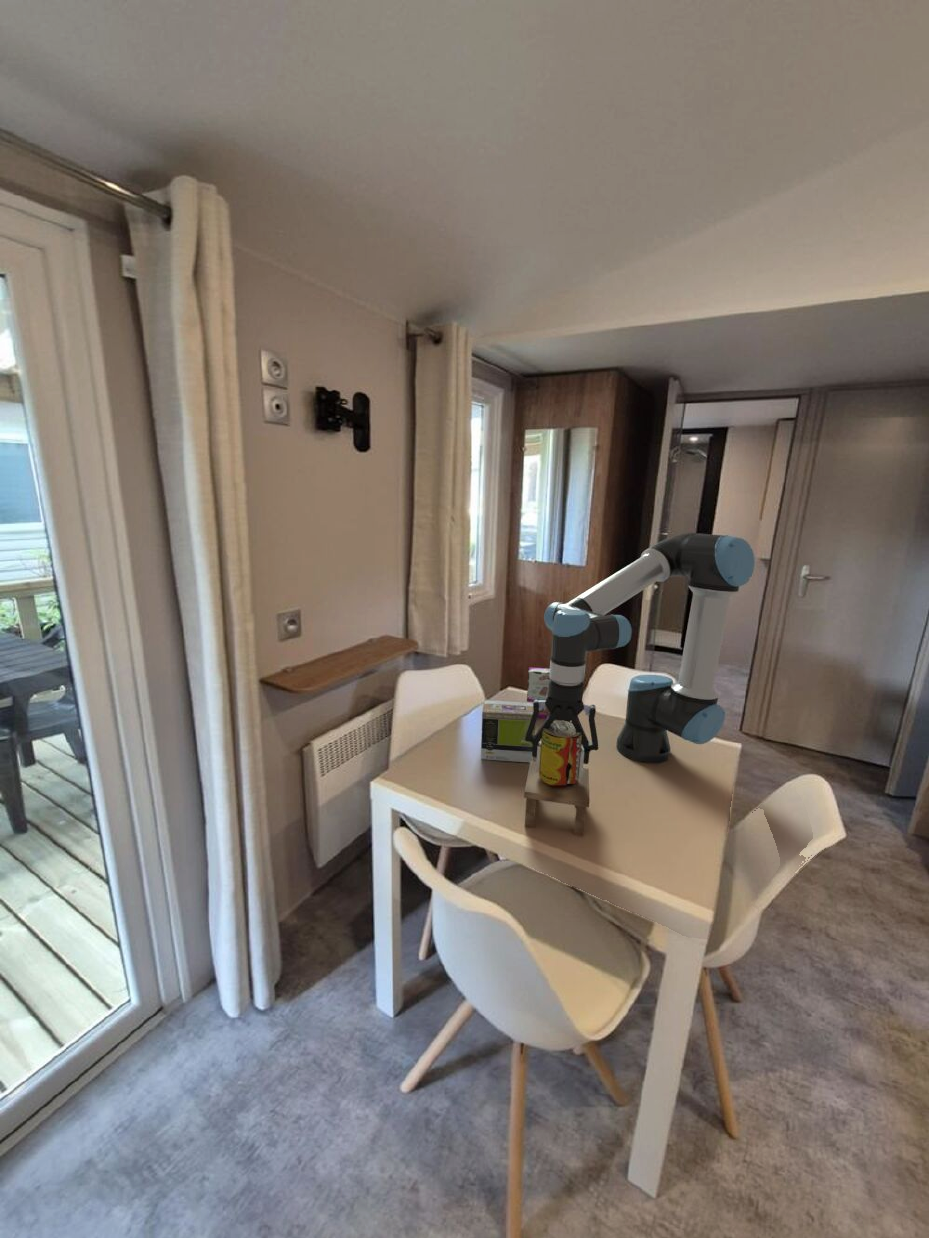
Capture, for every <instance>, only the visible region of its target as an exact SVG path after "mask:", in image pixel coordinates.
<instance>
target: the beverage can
mask: <svg viewBox="0 0 929 1238" xmlns="http://www.w3.org/2000/svg"><path fill="white" fill-rule="evenodd" d="M581 739H582V733H579V732H576V730H575V727H574V726H573V724H572V721H570V722H569V721H565V720H556V719H555V720H554V721H553V723H552V724H551V725H550V727H549V728H548V729H546V728H543V732H542V739H541V740H540V741H541V754H540V767H539V777H540V778H541V780H542V781H544V782H545V783H547V784H549V785H553V786H557V787H569V786H572V785H575V784H576V783H577V782H578V777H579V766H580V755H581V746H582V743H581ZM582 747H583V746H582Z"/></svg>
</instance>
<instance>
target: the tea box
mask: <svg viewBox="0 0 929 1238" xmlns="http://www.w3.org/2000/svg"><path fill="white" fill-rule="evenodd" d="M533 703H534V702H527V701H519V700H500V699H499V700H498V699H484V701H483V707H482V711H481V712H482V713H481V741H480V742H481V743H480V744H481V747H480V750H481V751H480V758H481V760H487V761H488V760H489V761H501V762H502V761H504V762H519V763H528V764H530V761H534V759H535V757H533V756H532V747H533V745H532V743H531V742H527V741H525V737H526V733H527V730H528V727H529V724H530V720H531V717H532V714H533V711H534V710H533ZM536 727H537V725H536V724H535V727H534V730H533V733H532V735H534V736H535V735H536Z"/></svg>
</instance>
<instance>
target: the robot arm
mask: <svg viewBox="0 0 929 1238" xmlns="http://www.w3.org/2000/svg"><path fill="white" fill-rule="evenodd" d="M754 569H755V554H754V550H753V548H752V547H751V545H750V544H749V542H748V541H747V540H745V539H744V538H742V537H738V536H732V535H727V534H725V535H722V534H721V535H720V534H710V533H709V534H707V533H696V532H684V533H679V534H677V535H676V534H675V535H673V536H670V537H668V538H665V539H663V540H661V541H658V542H657V543H655V544H653V545H652V546H650V547H648V548H647V549H645V550H643V551H642V553H641V555H640V557H639V558H638V559H636V560H635V561H633V562H631V563H630V564H628V565H626V566H624V567H623V568H621V569H620V570H618V571H616V572H615V573H614V574H612V575H610V576H609V577H606V578H605V579H603V580H602V581H600V582H599V583H597V584H595V585H594V586H592V587H590V588H589V589H588V590H586V591H585V592H583V593H581V594H579V595H578V596H576V597H575V598H573V599H571V600H569V601H568V602H566V603H565V602H561V601H560V602H558V601H555V602H552V603H550V604H549V605H548V606H547V607H546V610H545V611H544V614H543V619H544V620H543V621H544V625H545V626H546V628H548V629H549V630H550V631H551V632H552V633H551V649H550V650H551V651H550V663H549V669H550V674H549V676H550V678H551V679H550V680H549V688H548V697H547V699H546V700H539V699H537V698H536V699H535V700H534V703H533V710H534V711H533V714H532V717H531V720H530V724H529V727H528V730H527V733H526V737H525V741H527V742H531V743H532V745H533V747H532V756H533V757H534V758H536V760H535V762H536V772H538V773H539V767H540V754H541V739H542V732H543V728H546V729H548V728H549V727H550V725H551V724H552V723H553V721H554V720H565V721H569V722H572V724H573V726H574V727H575V730H576V732H579V733H582V739H581V743H582V746H581V755H580V766H579V777H578V778H581V779H582V772H583V768H584V765H588V764H589V763H590V762H589V760H590V753H591V751H598V750H599V740H598V733H597V726H596V720H595V717H596V713H597V711H596V709H597V707H596V705H595V704H590V705H588V704H584V702H583V694H584V680H585V673H586V663H587V653H593V652H599V651H604V650H615V649H617V648H621V647H625V646H627V644H628V643H629V642H630V640H631V638H632V626H631V624H630V621H629V620H628V619H627V618H626V617H625V616H623V615H622V614H612V613H611V614H608V613H610V612H611V611H612V610H614V609H616V608H618V607H619V606H620V605H622V604H623V603H625V602H627V601H628V600H630V599H631V598H633V597H634V596H636V595H638V594H639V593H640V592H642V591H644V590H645V589H647V588H648V587H650V586H652V585H653V584H654V583H656V582H660V583H661V582H662V583H663V582H665V581H666V580H668V579H670V578H672V577H685V578H688V583H687V584H688V585H687V586H688V588H689V589H690V591H691V592H692V598H691V604H690V609H689V610H690V611H689V617H688V620H687V621H688V622H687V629H686V633H685V639H684V640H685V641H684V646H683V652H682V657H681V663H680V668H679V674H678V679H677V681H676V682H674V680H673V679H672V678H671V677H668V676H665V675H657V674H640V675H636V676H634V677H632V678H631V680H630V682H629V686H628V689H627V691H628V692H627V701H626V711H625V712H626V713H625V721H624V722H625V723H623V727H622V729H621V730H620V733H619V734H618V737H617V739H616V746H615V747H616V749H617V751H618V752H619V753H620V754H622V755H623V756H625V757H626V758H629V759H631V760H634V761H638V762H643V763H650V764H653V763H654V764H655V763H658V764H659V763H663V762H665V761H668V760H669V759H670V757H671V746H670V739H669V736H668V732H670V733H672V734H674V735H676V736H678V737H680V738H681V739H683V740H685V741H689V742H691V743H693V744H695V745H704V744H706V743H709V742H710V741H712V740H713V739H714V738H715V737H716V736H717V735H718V734H719V733H720V731H721V729H722V727H723V725H724V722H725V719H726V712H725V709H724V708H723V707H722V706H721V705H720V704H718V699H719V693H718V692H717V690H716V689H715V688H714V687H715V681H716V675H717V670H718V666H719V659H720V654H721V648H722V643H723V638H724V633H725V626H726V624H727V623H726V622H727V616H728V611H729V607H730V606H729V605H730V601H731V598H732V597H733V596H735V595H737V594H738V593H739V591H740V587H742V586H744V585H746V584H747V583H749V581H750V578H752V576H753V573H754V571H755V570H754ZM606 614H608V615H606ZM544 706H546V707H547V709H548V710H549V712H550V713H549V714H548V716H547V718H544V721H543V723H542V724H541V726H539V729H538V730H537V731H536V732H535V736H534V735H532V733H533V730H534V727H535V724H536V723H537V720H538V719H539V718H538V714H539V710H542V709H543V707H544ZM583 711H584V712H585V716H587V717H588V724H589V725H588V726H589V731H590V738H591V742H589V739H588V738H587V735H586V732H585V729H584V728H583V726H582V723H581V721H580V718H579V715H580V714H581V713H582V712H583ZM535 728H536V727H535Z"/></svg>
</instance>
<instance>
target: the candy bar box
mask: <svg viewBox="0 0 929 1238" xmlns="http://www.w3.org/2000/svg"><path fill="white" fill-rule="evenodd" d="M527 673H528V674H527V690H526V691H527V693H526V702H534V700H535V699H536V698H537V699H539V700H546V699H547V697H548V688H549V680H550V679H551V678H550V676H549V674H550V668H545V667H544V668H543V667H529V668H528V672H527ZM549 713H550V712H549V710H548V709H547V707H546V706H544V707H543V709H542V710H539V714H538V718H537V719H546V718H547V716H548V714H549Z"/></svg>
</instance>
